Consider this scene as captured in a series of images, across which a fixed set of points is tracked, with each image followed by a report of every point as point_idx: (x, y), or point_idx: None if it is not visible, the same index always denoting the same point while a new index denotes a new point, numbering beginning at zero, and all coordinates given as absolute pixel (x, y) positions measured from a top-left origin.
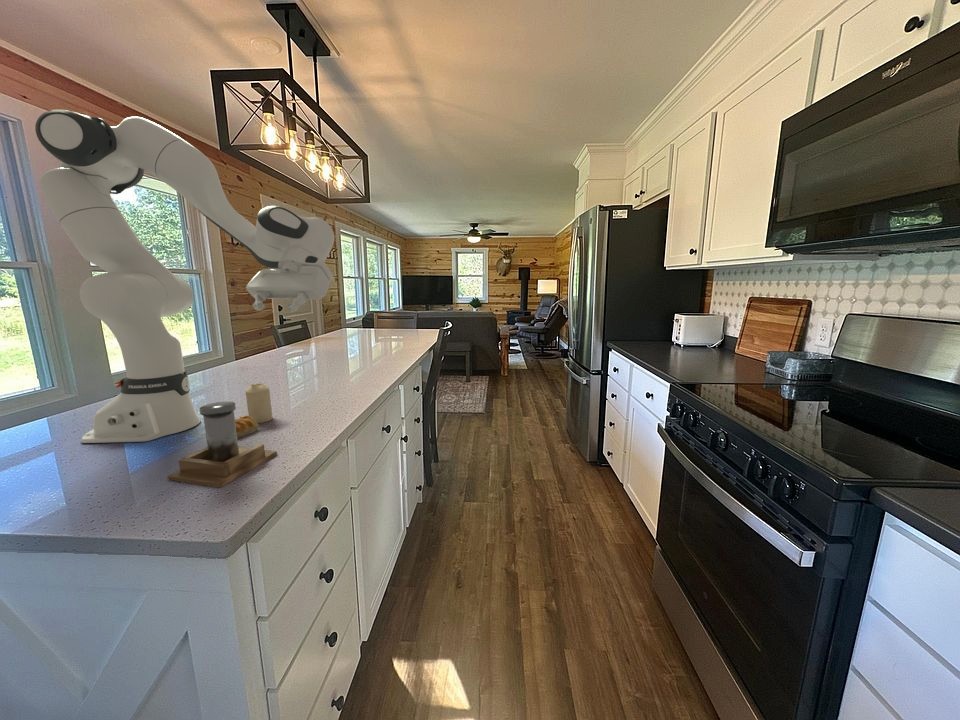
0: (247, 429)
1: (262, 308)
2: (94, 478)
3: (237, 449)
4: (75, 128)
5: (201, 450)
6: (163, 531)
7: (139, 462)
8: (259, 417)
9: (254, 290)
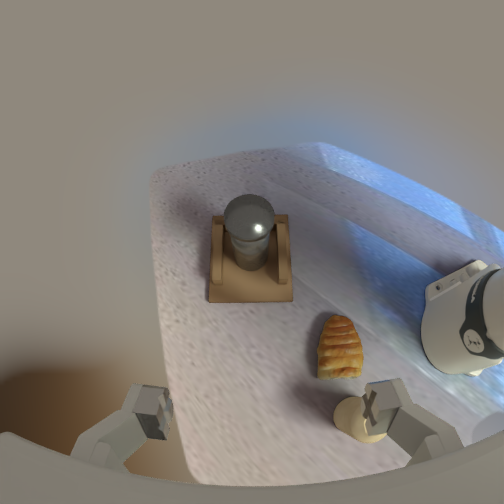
0: (318, 353)
1: (364, 413)
2: (367, 204)
3: (234, 255)
4: None
5: (283, 243)
6: (203, 162)
7: (368, 240)
8: (342, 402)
9: (481, 441)
